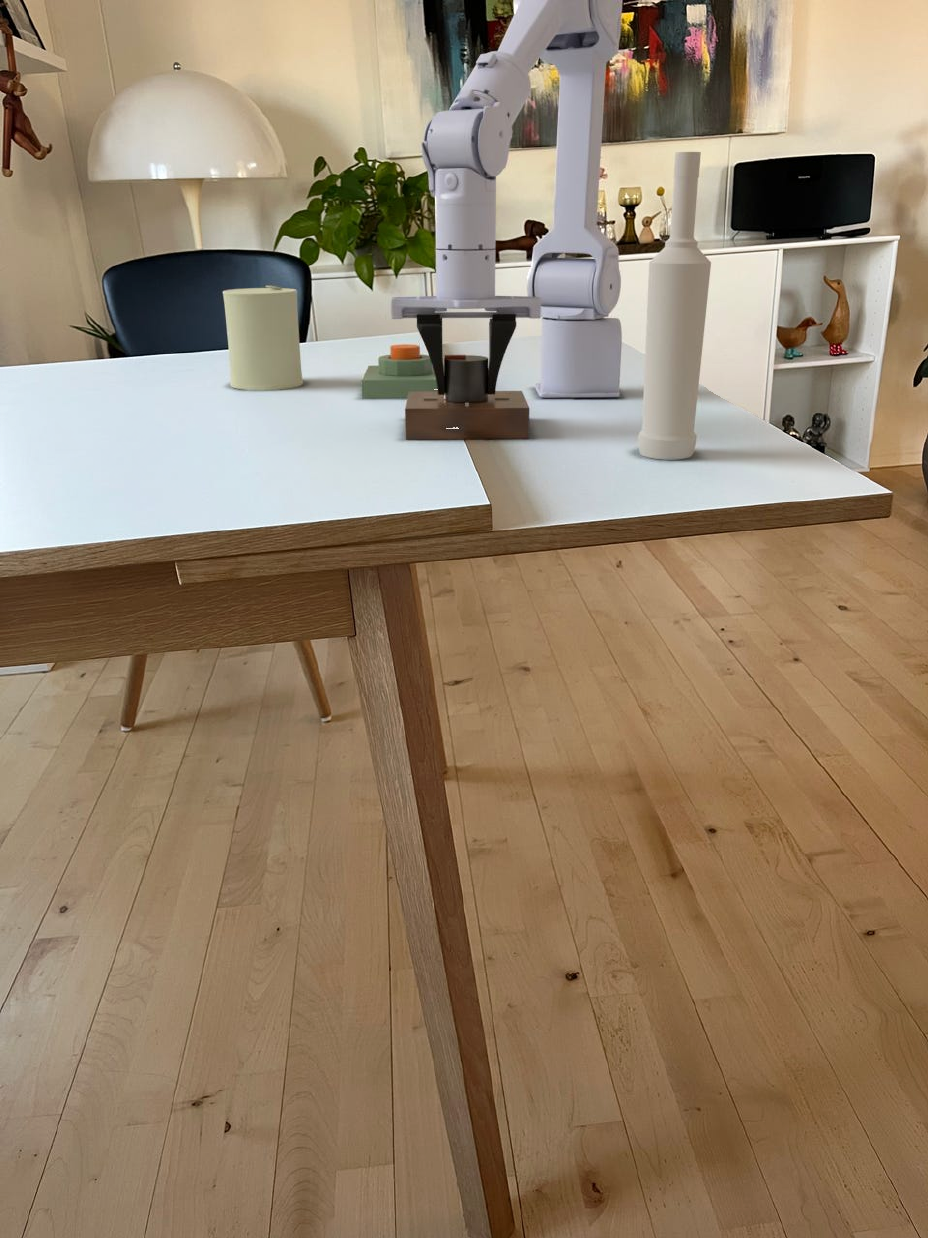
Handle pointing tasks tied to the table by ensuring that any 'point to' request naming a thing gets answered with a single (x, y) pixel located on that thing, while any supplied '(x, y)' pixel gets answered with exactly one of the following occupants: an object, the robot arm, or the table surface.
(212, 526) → the table surface
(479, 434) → the dial panel
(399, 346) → the button
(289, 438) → the table surface
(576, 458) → the table surface
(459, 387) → the dial
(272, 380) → the can
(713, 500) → the table surface
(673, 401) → the bottle
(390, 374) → the green button base
